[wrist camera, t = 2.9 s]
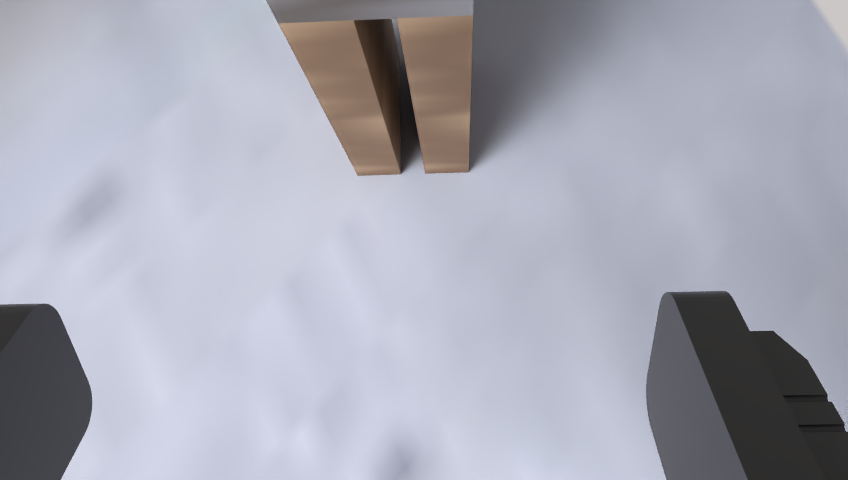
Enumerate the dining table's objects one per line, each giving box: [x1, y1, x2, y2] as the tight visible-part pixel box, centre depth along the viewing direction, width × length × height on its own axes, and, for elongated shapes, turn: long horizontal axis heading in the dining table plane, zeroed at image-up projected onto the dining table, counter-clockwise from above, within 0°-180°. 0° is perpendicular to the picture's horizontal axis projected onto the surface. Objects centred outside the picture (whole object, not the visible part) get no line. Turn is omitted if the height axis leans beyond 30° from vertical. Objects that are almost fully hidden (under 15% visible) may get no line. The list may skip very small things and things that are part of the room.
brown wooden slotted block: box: [266, 0, 474, 176], centre depth 18 cm, size 4×4×11 cm
